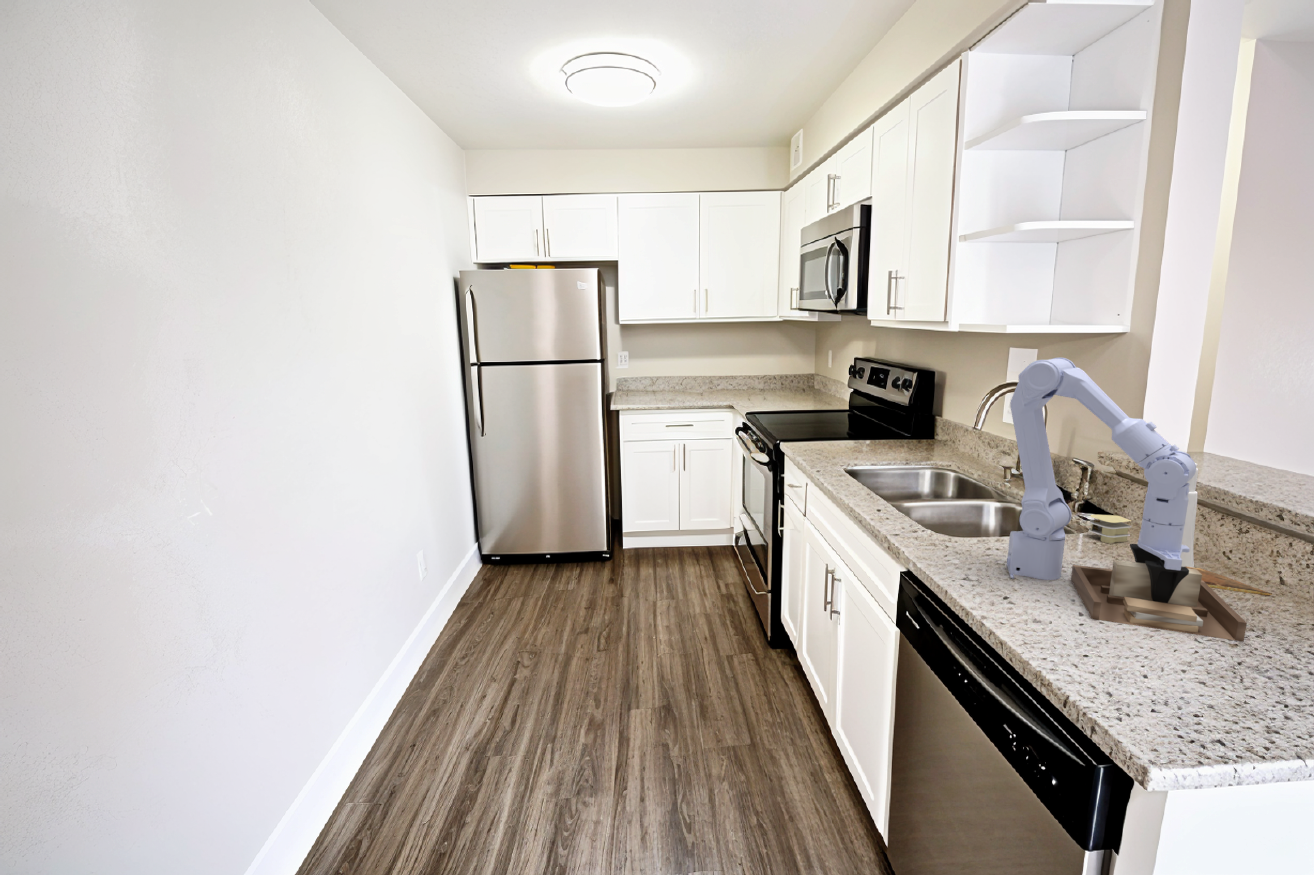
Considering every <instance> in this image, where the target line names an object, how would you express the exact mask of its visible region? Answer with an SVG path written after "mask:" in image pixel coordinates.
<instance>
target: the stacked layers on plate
mask: <svg viewBox="0 0 1314 875" xmlns="http://www.w3.org/2000/svg"><path fill="white" fill-rule="evenodd" d="M1090 518H1092V519H1090V520H1089V523H1090V524H1091V526H1090V527H1089V529H1088V532H1090V533H1094V534H1096V535H1098V536H1099V535H1100V542H1102V543H1106V544H1114V543H1126V542H1127V541H1128V537H1130V536H1131V534H1130V533H1129V529H1130V528H1132V525H1129V524H1127V522H1132V520H1130V519H1128V518H1126V517H1122V516H1121V515H1112V514H1090Z"/></svg>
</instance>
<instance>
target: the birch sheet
mask: <svg viewBox="0 0 1314 875" xmlns="http://www.w3.org/2000/svg"><path fill="white" fill-rule="evenodd" d="M1111 569H1112V576H1111V583H1110V591H1109V595H1112V596H1120V597H1130V598H1136V599H1142V600H1149V601H1153V600H1152V597H1151V581H1150V575H1149V571H1148V568H1147V566H1146V564H1145V563H1136V562H1135V561H1126V560H1117V559H1113V561H1112V568H1111ZM1187 569H1188V568H1187ZM1188 570H1189V574H1188V575H1187V576H1186V577H1184V578H1183V579H1182V580H1181V581H1180V583H1179V584H1178V585H1177V587H1176V589H1175V590H1174V592H1173V594H1172V596H1171V598H1170V600H1169V602H1168V603H1171V604H1179V605H1186V606H1194V607H1197V603H1198V597H1199V591H1200V585H1201V579H1202V574H1201V573H1200V572H1199V571H1198V570H1197V569H1188Z"/></svg>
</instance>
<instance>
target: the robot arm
mask: <svg viewBox="0 0 1314 875" xmlns="http://www.w3.org/2000/svg"><path fill="white" fill-rule="evenodd" d="M1013 392H1014V393H1013V394H1012V397H1011V399H1010V404H1009V405H1010V411H1011V412H1010V413H1011V417H1012V422H1013V427H1014V432H1015V433H1014V435H1015V438H1016V439H1015V441H1016V445H1017V449H1018V451H1017V452H1018V455H1019V461H1020V467H1021V472H1022V476H1023V477H1022V478H1023V482H1024V487H1025V488H1024V489H1025V490H1024V493H1023V496H1022V498H1021V501H1020V502H1021V503H1020V504H1021V512H1020V516H1019V525H1020V527H1021V529H1022V530H1020V531H1019V530H1018V531H1015V530H1011V531H1010V534H1009V539H1008V548H1007V550H1008V551H1007V557H1006V567H1007V571H1008V574H1009V577H1010V579H1012V580H1013V579H1014V580H1015V579H1016V578H1015V576H1023V577H1029V578H1034V579H1038V580H1046V581H1050V580H1051V581H1053V580H1054V581H1055V580H1059V579H1060V578H1061V576H1062V569H1063V559H1064V551H1065V550H1064V549H1065V542H1066V533H1065V530H1064V529H1065V528H1064V527H1066V526H1067V525H1069V523H1070V522H1071V520H1072V518H1073V517H1072V510H1071V508H1070V507H1069V505H1068V504H1067V503H1066V501H1065V499H1064V495H1063V492H1062V491H1061V489H1060V488H1059V487H1058V486H1057V482H1056V479H1055V473H1054V467H1053V463H1052V457H1051V455H1052V454H1051V451H1050V445H1049V439H1048V434H1047V430H1046V423H1045V417H1044V414H1043V408H1044V407H1045V406H1046V405H1047V403H1048V402H1049V401H1050V400H1051V399H1052V398H1053V397H1055V396H1060V397H1065V398H1069V399H1075V400H1077V401H1078V402H1079V403H1080V404H1082V406H1084V407H1085V408H1086V409H1087V410H1089V411H1090V412H1091V413H1092V414H1094V416H1096V417H1097V418H1098V419H1099V420H1100V421H1101V422H1102V423H1103V424H1105V425H1106V426H1107V427H1108V428H1110V429H1111V440H1112V442H1114V444H1116V445H1117V446H1118V447H1119V448H1120V449H1121V450H1122V451H1123V452H1124V453H1125V454H1126V455H1128V456H1127V457H1129V458H1130V459H1131V460H1132V461H1133V462H1135V463H1136V464H1137V465H1138V467H1141V468H1143V474H1144V477H1145V480H1146V482H1147V483H1148V484H1147V489H1146V490H1147V492H1146V493H1145V499H1144V505H1143V512H1142V513H1143V514H1142V520H1141V527H1140V530H1139V535H1138V539H1137V543H1130V544H1129V548H1130V550H1131V551H1132V555H1133V557H1134V562H1136V563H1145V564H1146V566H1147V568H1148V571H1149V575H1150V581H1151V597H1152V600H1153V601H1155V602H1162V603H1168V602H1169V600H1170V598H1171V596H1172V594H1173V592H1174V590H1175V589H1176V587H1177V585H1178V584H1179V583H1180V581H1181V580H1182V579H1183V578H1184V577H1186V576H1187V575H1188V574H1189V570H1188V569H1187V568H1186V567H1181V565H1182V559H1181V558H1180V557H1181V554H1182V552H1189V550H1190V548H1188V547H1187V546H1185V545H1182V538H1183V532H1184V525H1185V519H1186V513H1187V506H1188V500H1189V499H1188V493H1189V485H1190V484H1189V483H1187V482H1188V481H1189V480H1190V479H1192V478H1193V476H1194V474H1195V472H1196V468H1197V466H1196V465H1195V463H1196V462H1195V461H1194V459H1193V458H1192V457H1191V455H1190V454H1189V453H1187V452H1185V451H1182V450H1179V449H1180V448H1179V447H1178V446H1177V445H1176V444H1171V443H1169V442H1168V441H1167V440H1166V439H1165V438H1164V437H1163V436H1162V435H1161V434H1160V433H1158V432H1157V431H1156V430H1155V429H1156V428H1157V425H1156V424H1155V423H1154V422H1153V421H1149V422H1146V420H1144V419H1143V418H1132V417H1130V416H1128V414H1126V413H1125V412H1124V411H1123V410H1122V409H1121V408H1120V406H1118V404H1117V403H1116V402H1115V401H1114V400H1113V399H1112V398H1111V397H1110V396H1109V395H1107V394H1106V392H1104V390H1103V389H1102V388H1100V386H1099V385H1098V384H1097V383H1096V382H1095V381H1094V380H1093V379H1092V378H1091V377H1090V376H1089V374H1088V373H1086V371H1084V370H1083V369H1082V368H1080V367H1077V366H1076V365H1075V364H1074V362H1073V361H1072V360H1070V359H1068V358H1066V357H1053V358H1049V359H1037V360H1035V361H1032V362H1030V363H1029V364H1028V365H1027V366H1026V367H1025V368H1024V369H1023V370H1022V371H1021V372H1020V373H1019V374H1018V382H1017V385H1016V386H1015V389H1014V391H1013ZM1017 568H1019V569H1017Z"/></svg>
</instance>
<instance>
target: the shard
mask: <svg viewBox="0 0 1314 875" xmlns="http://www.w3.org/2000/svg"><path fill="white" fill-rule="evenodd" d="M1186 568H1188V569H1197V570H1198V571H1199V572H1200V573H1201V574H1202V579H1201V580H1203V581H1204V582H1205V583H1206V584H1207V585H1208V586H1209V587H1210V588H1211V589H1219V590H1220V589H1221V590H1224V591H1232V592H1242V593H1248V594H1254V595H1255V594H1256V595H1263V596H1272V595H1273V593H1272V592H1268V591H1265V590H1262V589H1260V588H1257V587H1254V586H1251V585H1249V584H1245V583H1243V582H1242V581H1239V580H1236V579H1233V578H1230V577H1227V576H1224V575H1222V574H1218V573H1217V572H1213V571H1210V570H1207V569H1204V568H1200V567H1194V568H1193V567H1187V566H1186Z"/></svg>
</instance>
